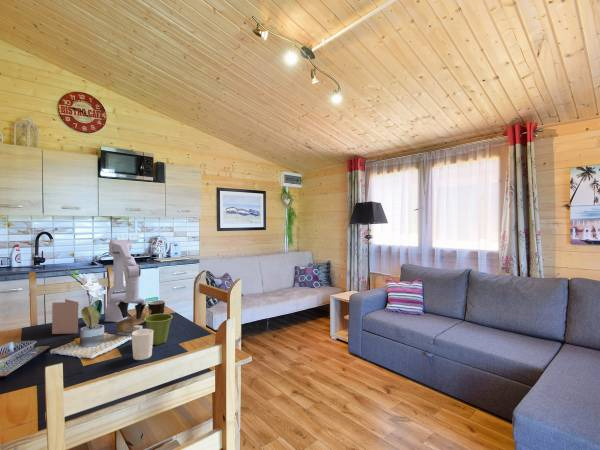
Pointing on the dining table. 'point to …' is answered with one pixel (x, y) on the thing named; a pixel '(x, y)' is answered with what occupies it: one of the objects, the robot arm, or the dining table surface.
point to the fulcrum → (130, 330)
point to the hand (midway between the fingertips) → (131, 317)
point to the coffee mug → (156, 307)
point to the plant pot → (159, 326)
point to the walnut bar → (130, 322)
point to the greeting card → (65, 317)
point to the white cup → (142, 344)
